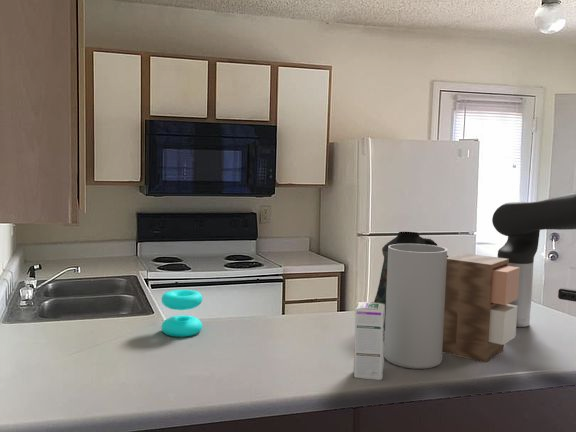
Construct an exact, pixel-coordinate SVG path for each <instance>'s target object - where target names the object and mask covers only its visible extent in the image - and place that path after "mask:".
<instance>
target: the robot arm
mask: <svg viewBox="0 0 576 432" xmlns="http://www.w3.org/2000/svg"><path fill="white" fill-rule="evenodd" d="M491 218H492V219H491V221H492V222H491V223H492V226H493V227H494V229H495V230H496V232H497V233H499V234H500V235H502V236H505V237H507V239H506V240H507V241H506V242H505V244H504V245H503V246H502V247H500V248H499V249H498V250H497V257H498V258H506V259H509V266H513V267H520V273H519V289H518V299H517V300H515V301H513V302H511V303H509V304H510V305H516V306H517V321H516V328H522V327H523V328H524V327H528V326H530V321H531V308H532V295H533V294H532V293H533V281H534V280H533V279H534V260H535V256H536V253H537V252H538V247H539V240H540V232H541V231H542V230H561V231H562V230H565V231H566V230H568V231H569V230H576V191H575V192H572V193H571V192H570V193H565V194H562V195H557V196H555V197H550V198H546V199H542V200H537V201H530V202H529V201H527V202H525V201H516V202H507V203H503V204H501V205H500V206H499V207H498V208H496V210H495V211H494V213H493V215H492V217H491ZM557 294H558V295H557V297H558V299H559V300H563V301H568V302H569V301H570V302H575V303H576V289H575V288H568V287H561V288H559V289H558V293H557Z"/></svg>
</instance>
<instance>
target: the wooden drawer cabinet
mask: <svg viewBox="0 0 576 432" xmlns="http://www.w3.org/2000/svg"><path fill="white" fill-rule="evenodd" d="M502 265H505V266H509V259H506V258H498V256H489V255H481V254H473V253H467V252H466V253H465V252H462V253H458V254H455V255H451V256H448V257H447V265H446V286H445V306H444V326H443V346H442V353H445V354H449V355H452V356H457V357H460V358H465V359H468V360H473V361H476V362H477V361H478V362H481V363H488V362H489V361H491V360H492V359H494V358H495V357H497V356H498V355H500V354H501V353H502V352H504V350H505V349H504V347H505V344H503V345H501V344H497V343H492V342H489V326H490V308H492V307H494V306H496V305H499V304H496V303H491V291H492V273H493V268H496V267H499V266H502Z"/></svg>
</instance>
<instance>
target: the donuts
mask: <svg viewBox="0 0 576 432" xmlns="http://www.w3.org/2000/svg"><path fill="white" fill-rule="evenodd" d="M202 302H203V296H202V294H201V293H200V292H199V291H197V290H191V289H174V290H170V291H167V292H165V293H163V295H162V296H161V303H162V305H163V306H165V308H168V309H170V310H178V311H185V310H192V309H195V308H196V307H199V306H200V305H201V304H202ZM202 329H203V323H202V321H201V320H200V319H199V318H197V317H196V316H192V315H184V314H183V315H175V316H170V317H169V318H166V319H165V320H164V321H163V322H162V324H161V331H162V332H163V334H165V335H167V336H170V337H174V338H175V337H176V338H186V337H192V336H196V335H197V334H199V333H201V331H202Z"/></svg>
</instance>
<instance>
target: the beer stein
mask: <svg viewBox="0 0 576 432" xmlns="http://www.w3.org/2000/svg"><path fill="white" fill-rule="evenodd" d="M394 244H425V245H434V246H438V244H437V242H435V241H434V240H433V239H431V238H426V237H425V238H424V237H422V236H420V233H419V232H417V231H416V232H415V231H399V232H398V234H397V236H396V237H394V238H392V239H391V240H390V241H387V243H386V244H384V246H383V247H382V248H381V250H382V255H383V262H382V267H381V272H380V278H379V284H378V286H377V291H376V294H375V298H374V301H373V302H377V303H383V304H385V316H386V290H387V265H388V246H389V245H394ZM447 257H449V255H448V254H447ZM384 332H385V324H384Z"/></svg>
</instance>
